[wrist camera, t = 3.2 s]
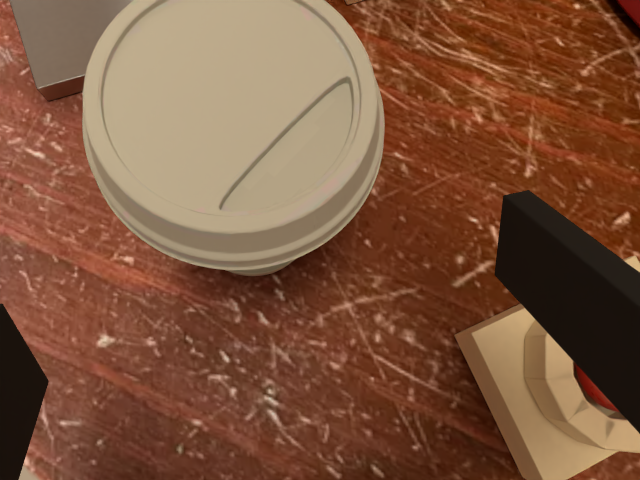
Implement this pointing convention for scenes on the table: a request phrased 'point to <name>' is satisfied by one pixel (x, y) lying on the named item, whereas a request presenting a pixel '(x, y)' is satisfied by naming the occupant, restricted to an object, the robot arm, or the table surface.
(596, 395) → the red push button
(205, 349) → the table surface
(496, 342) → the control block
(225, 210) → the coffee cup
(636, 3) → the table lamp
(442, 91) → the table surface
